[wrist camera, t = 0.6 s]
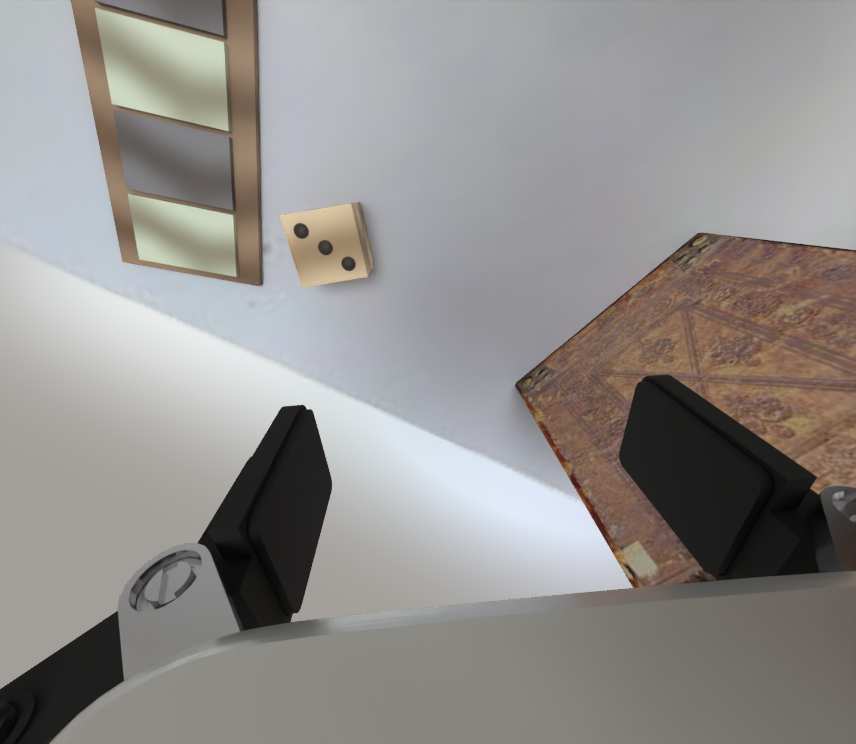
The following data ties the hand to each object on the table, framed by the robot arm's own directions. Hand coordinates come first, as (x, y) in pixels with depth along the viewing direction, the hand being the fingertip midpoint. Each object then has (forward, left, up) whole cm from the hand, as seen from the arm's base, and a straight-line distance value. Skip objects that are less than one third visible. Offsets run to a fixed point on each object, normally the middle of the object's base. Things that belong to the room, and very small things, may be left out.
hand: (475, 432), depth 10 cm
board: (-10, -23, -29) cm, 39 cm away
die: (0, -9, -29) cm, 31 cm away
